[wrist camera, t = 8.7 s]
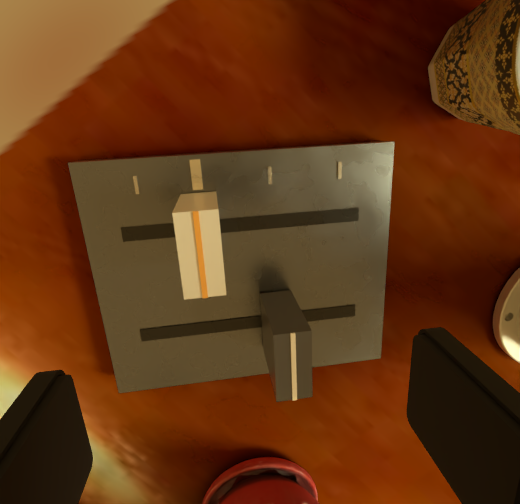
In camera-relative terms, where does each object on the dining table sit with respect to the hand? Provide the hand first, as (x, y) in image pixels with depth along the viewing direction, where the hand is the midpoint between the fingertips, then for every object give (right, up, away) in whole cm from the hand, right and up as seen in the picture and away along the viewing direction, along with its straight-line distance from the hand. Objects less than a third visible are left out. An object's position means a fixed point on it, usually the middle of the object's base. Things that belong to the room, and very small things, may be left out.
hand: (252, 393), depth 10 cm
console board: (-1, +3, +19) cm, 19 cm away
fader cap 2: (+2, -2, +19) cm, 19 cm away
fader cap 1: (-4, +6, +15) cm, 17 cm away
